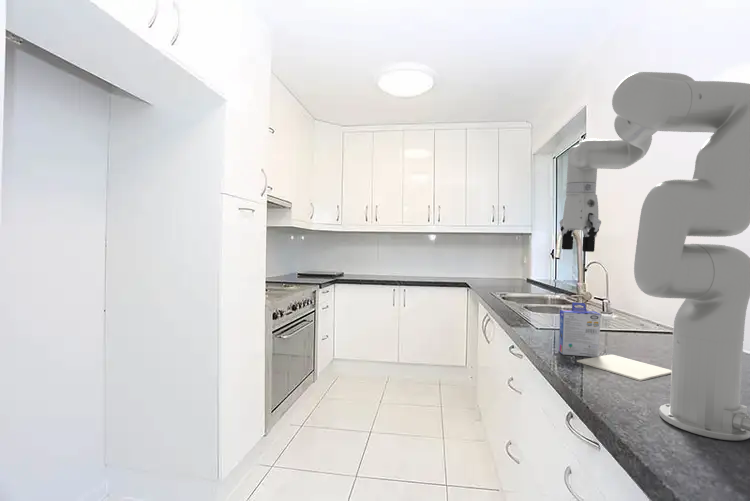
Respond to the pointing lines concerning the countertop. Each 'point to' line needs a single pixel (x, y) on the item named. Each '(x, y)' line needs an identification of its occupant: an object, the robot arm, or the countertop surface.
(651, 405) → the countertop surface
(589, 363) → the cream mat
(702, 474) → the countertop surface
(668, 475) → the countertop surface
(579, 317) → the ink cartridge box
